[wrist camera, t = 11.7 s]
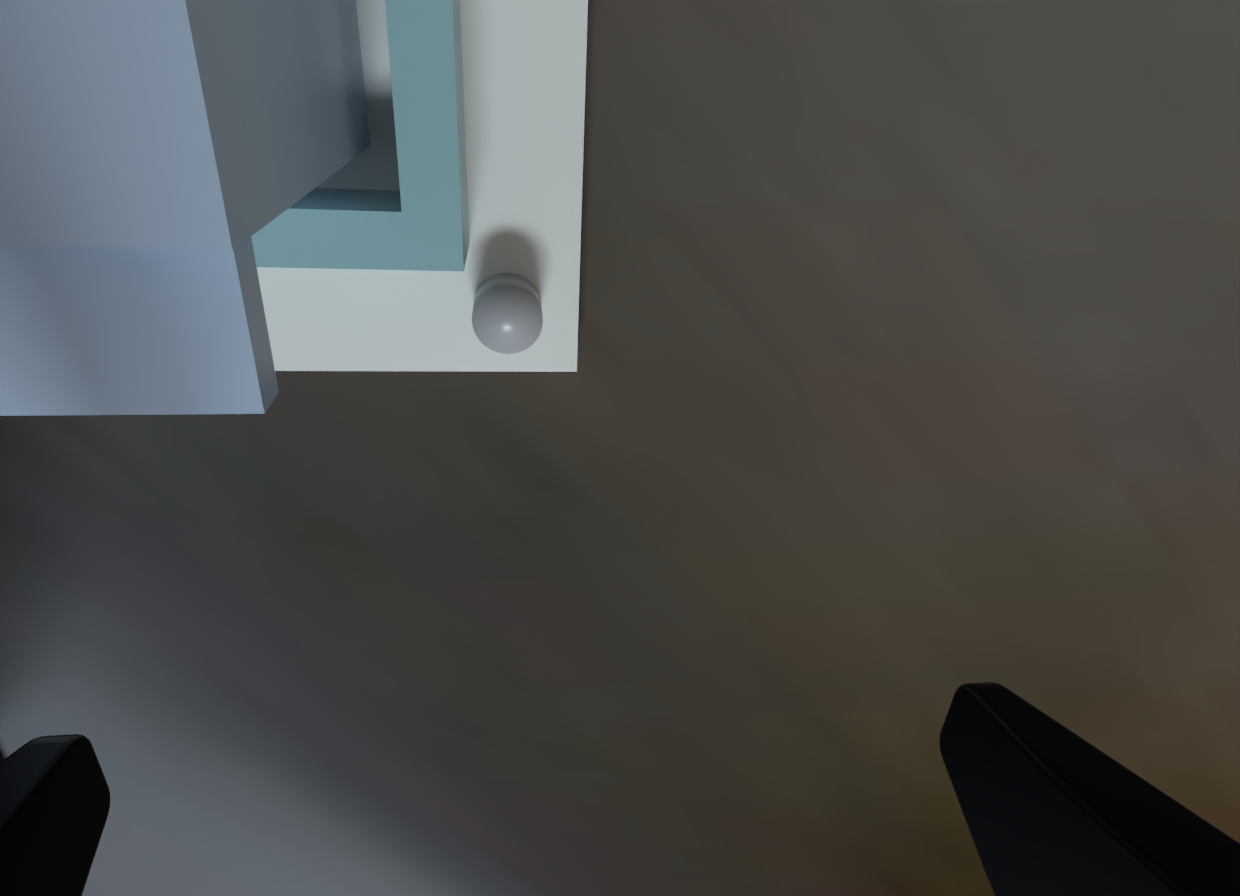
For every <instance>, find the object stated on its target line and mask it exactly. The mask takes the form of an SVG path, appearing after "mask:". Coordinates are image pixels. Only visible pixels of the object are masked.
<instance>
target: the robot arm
mask: <svg viewBox="0 0 1240 896" xmlns="http://www.w3.org/2000/svg"><path fill="white" fill-rule="evenodd" d="M940 750H941V755H942V758H943V761H944V763H945V766H946V769H947V771H948V774H949V777H950V779H951V782H952V785H953V787H954V790H955V793H956V795H957V798H958V801H959V803H960V806H961V809H962V811H963V814H964V817H965V819H966V822H967V825H968V827H969V830H970V833H971V835H972V838H973V841H974V843H975V846H976V849H977V851H978V854H979V857H980V859H981V862H982V865H983V867H984V870H985V873H986V875H987V878H988V880H989V882H990V885H991V887H992V890H993V892H994V895H995V896H1240V843H1238V842H1237V841H1235V840H1234V839H1232V838H1231V837H1229V836H1228V835H1226V834H1225V833H1223V832H1222V831H1220V830H1219V829H1217V828H1216V827H1214V826H1213V825H1211V824H1210V823H1208V822H1207V821H1205V820H1204V819H1202V818H1201V817H1199V816H1198V815H1196V814H1195V813H1193V812H1192V811H1190V810H1189V809H1187V808H1186V807H1184V806H1183V805H1181V804H1180V803H1178V802H1177V801H1175V800H1174V799H1172V798H1171V797H1169V796H1168V795H1166V794H1165V793H1163V792H1162V791H1160V790H1159V789H1157V788H1156V787H1154V786H1153V785H1151V784H1150V783H1148V782H1147V781H1145V780H1144V779H1142V778H1141V777H1139V776H1138V775H1136V774H1135V773H1133V772H1132V771H1130V770H1129V769H1127V768H1126V767H1124V766H1123V765H1121V764H1120V763H1118V762H1117V761H1115V760H1114V759H1112V758H1111V757H1109V756H1108V755H1106V754H1105V753H1103V752H1102V751H1100V750H1099V749H1097V748H1096V747H1094V746H1093V745H1091V744H1090V743H1088V742H1087V741H1085V740H1084V739H1082V738H1081V737H1079V736H1078V735H1076V734H1075V733H1073V732H1072V731H1070V730H1069V729H1067V728H1066V727H1064V726H1063V725H1061V724H1060V723H1058V722H1057V721H1055V720H1054V719H1052V718H1051V717H1049V716H1048V715H1046V714H1045V713H1043V712H1042V711H1040V710H1039V709H1037V708H1036V707H1034V706H1033V705H1031V704H1030V703H1028V702H1027V701H1025V700H1024V699H1022V698H1021V697H1019V696H1018V695H1016V694H1015V693H1013V692H1012V691H1010V690H1009V689H1007V688H1005V687H1004V686H1002V685H1000V684H997V683H993V682H986V683H968V684H963V685H961V686H960V687H959V688H958V689H957V690H956V692H955V694H954V697H953V700H952V702H951V705H950V708H949V711H948V713H947V716H946V719H945V722H944V724H943V727H942V730H941V733H940ZM109 807H110V792H109V788H108V785H107V782H106V780H105V777H104V775H103V772H102V769H101V767H100V764H99V762H98V759H97V757H96V754H95V752H94V749H93V747H92V744H91V742H90V741H89V739H87V738H86V737H85V736H83V735H78V734H74V735H56V736H42V737H38V738H35V739H33V740H31V741H29V742H28V743H26V744H25V745H23V746H22V747H20V748H19V749H18V750H16V751H15V752H14V753H12V754H11V755H10V756H8V757H7V758H6V759H4V760H3V761H2V762H0V896H82V893H83V890H84V887H85V884H86V881H87V878H88V875H89V871H90V868H91V865H92V862H93V859H94V856H95V853H96V850H97V847H98V844H99V841H100V838H101V835H102V832H103V829H104V826H105V823H106V820H107V816H108V813H109Z"/></svg>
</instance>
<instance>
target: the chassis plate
mask: <svg viewBox="0 0 1240 896" xmlns="http://www.w3.org/2000/svg"><path fill="white" fill-rule="evenodd" d="M356 6H357V16H358V27H359V37H360V47H361V57H362V67H363V78H364V88H365V98H366V108H367V118H368V129H369V139H370V147H369V148H367V149H366V150H365V151H363V152H362V153H361V154H359V155H358V156H357V157H355V158H354V159H353V160H351V161H350V162H349V163H347V164H346V165H345V166H343V167H342V168H341V169H340V170H338V171H337V172H336V173H334V174H333V175H332V176H330V177H329V178H328V179H326V180H325V181H324V182H322V183H321V184H320V185H318V186H317V187H316V188H314V189H313V190H312V191H310V192H309V193H308V194H307V195H305V196H304V197H303V198H301V199H300V200H299V201H297V202H296V203H295V204H293V205H292V206H291V207H289V208H288V209H287V210H285V211H284V212H283V213H281V214H280V215H279V216H277V217H276V218H275V219H274V220H272V221H271V222H270V223H268V224H267V225H266V226H264V227H263V228H262V229H260V230H259V231H258V232H256V233H255V234H254V235H252V236H251V238H252V244H253V250H254V255H255V261H256V267H257V272H258V278H259V284H260V289H261V295H262V301H263V306H264V312H265V318H266V323H267V329H268V335H269V340H270V346H271V352H272V357H273V363H274V369H275V371H516V372H577V346H578V313H579V280H580V247H581V214H582V181H583V149H584V116H585V83H586V50H587V17H588V0H356Z"/></svg>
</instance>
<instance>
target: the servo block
mask: <svg viewBox="0 0 1240 896" xmlns="http://www.w3.org/2000/svg"><path fill="white" fill-rule="evenodd" d="M369 147H370V139H369V129H368V118H367V108H366V98H365V88H364V78H363V67H362V57H361V47H360V37H359V27H358V16H357V6H356V0H0V416H35V415H159V414H265V412H266V411H267V409H268V408H269V406H270V405H271V403H272V402H273V400H274V398H275V397H276V395H277V394H278V392H279V391H278V386H277V380H276V374H275V369H274V363H273V357H272V352H271V346H270V340H269V335H268V329H267V323H266V318H265V312H264V306H263V301H262V295H261V289H260V284H259V278H258V272H257V267H256V261H255V255H254V250H253V244H252V238H251V236H252V235H254V234H255V233H256V232H258V231H259V230H260V229H262V228H263V227H264V226H266V225H267V224H268V223H270V222H271V221H272V220H274V219H275V218H276V217H277V216H279V215H280V214H281V213H283V212H284V211H285V210H287V209H288V208H289V207H291V206H292V205H293V204H295V203H296V202H297V201H299V200H300V199H301V198H303V197H304V196H305V195H307V194H308V193H309V192H310V191H312V190H313V189H314V188H316V187H317V186H318V185H320V184H321V183H322V182H324V181H325V180H326V179H328V178H329V177H330V176H332V175H333V174H334V173H336V172H337V171H338V170H340V169H341V168H342V167H343V166H345V165H346V164H347V163H349V162H350V161H351V160H353V159H354V158H355V157H357V156H358V155H359V154H361V153H362V152H363V151H365V150H366V149H367V148H369Z"/></svg>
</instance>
